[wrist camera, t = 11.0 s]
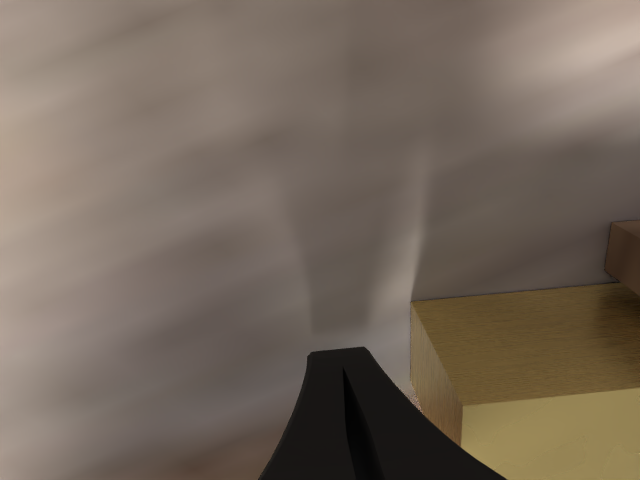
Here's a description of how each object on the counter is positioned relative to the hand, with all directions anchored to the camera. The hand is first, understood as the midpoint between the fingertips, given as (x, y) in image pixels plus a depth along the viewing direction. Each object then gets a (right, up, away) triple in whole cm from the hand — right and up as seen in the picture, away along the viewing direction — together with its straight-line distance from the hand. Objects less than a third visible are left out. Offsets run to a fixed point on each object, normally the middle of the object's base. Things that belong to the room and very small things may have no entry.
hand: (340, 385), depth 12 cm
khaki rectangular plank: (+5, +1, +2) cm, 5 cm away
